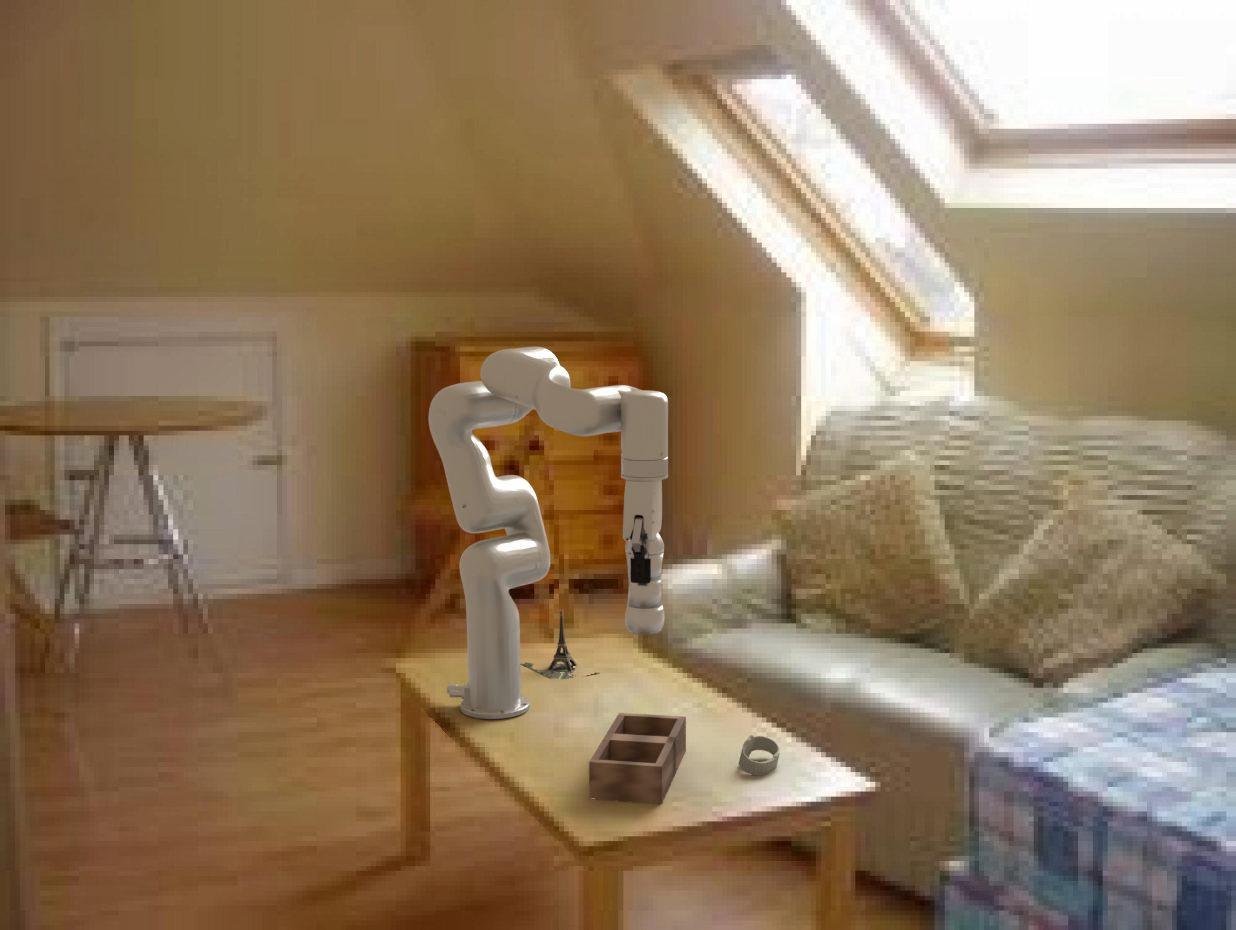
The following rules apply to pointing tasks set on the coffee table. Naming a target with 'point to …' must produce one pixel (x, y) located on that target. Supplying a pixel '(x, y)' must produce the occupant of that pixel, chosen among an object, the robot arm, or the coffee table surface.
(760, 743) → the wristwatch
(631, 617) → the plastic bottle
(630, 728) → the bottle rack
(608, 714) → the coffee table surface
